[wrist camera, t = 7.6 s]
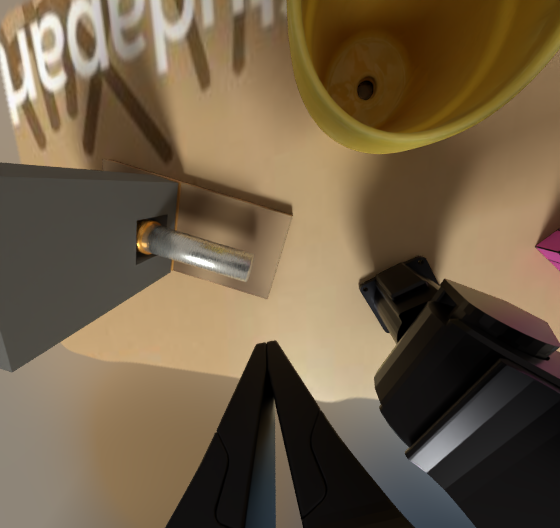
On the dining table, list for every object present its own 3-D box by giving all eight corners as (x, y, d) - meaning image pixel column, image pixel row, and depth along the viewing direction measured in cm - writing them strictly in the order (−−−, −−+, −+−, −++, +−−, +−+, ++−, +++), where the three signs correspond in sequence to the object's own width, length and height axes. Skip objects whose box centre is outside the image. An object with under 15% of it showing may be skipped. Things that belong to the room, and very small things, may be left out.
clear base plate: (292, 215, 20) (292, 216, 19) (268, 294, 23) (267, 299, 22) (111, 160, 20) (101, 158, 19) (114, 247, 23) (105, 249, 22)
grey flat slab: (178, 182, 18) (-45, 174, 7) (170, 272, 22) (12, 372, 10) (152, 174, 18) (-116, 153, 7) (148, 265, 22) (-36, 357, 10)
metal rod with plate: (268, 220, 19) (244, 242, 12) (251, 285, 22) (223, 337, 14) (108, 172, 19) (-18, 162, 12) (110, 242, 22) (8, 271, 14)
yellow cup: (460, 106, 15) (684, -11, 6) (338, 192, 18) (371, 196, 9) (396, -48, 13) (602, -571, 4) (269, 79, 16) (223, -61, 7)
